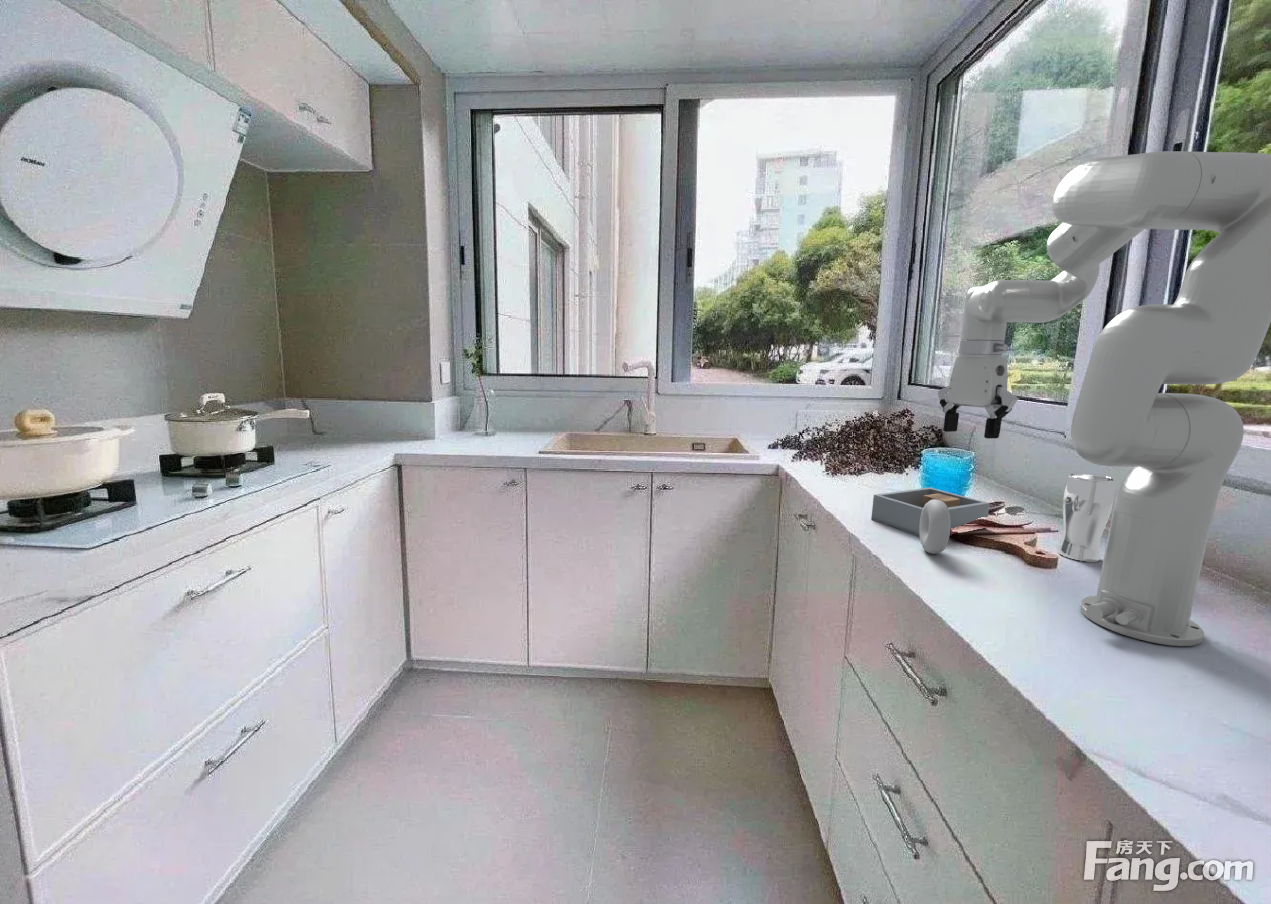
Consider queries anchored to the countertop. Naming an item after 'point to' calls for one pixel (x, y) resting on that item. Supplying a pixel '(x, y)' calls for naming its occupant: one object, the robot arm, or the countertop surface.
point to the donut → (934, 526)
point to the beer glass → (1085, 515)
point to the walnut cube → (941, 499)
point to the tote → (907, 510)
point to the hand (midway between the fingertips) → (969, 434)
